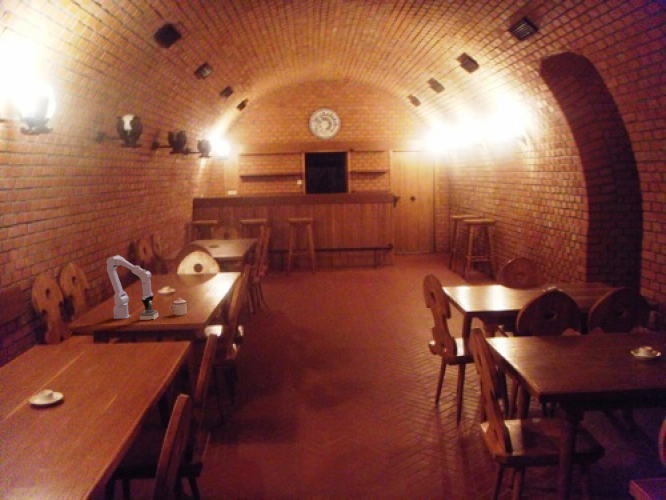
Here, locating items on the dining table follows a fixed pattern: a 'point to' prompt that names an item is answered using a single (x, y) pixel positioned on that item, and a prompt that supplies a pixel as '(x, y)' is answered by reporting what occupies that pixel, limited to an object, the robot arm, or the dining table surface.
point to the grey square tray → (148, 315)
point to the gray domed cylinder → (149, 306)
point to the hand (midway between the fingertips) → (148, 307)
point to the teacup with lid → (179, 307)
